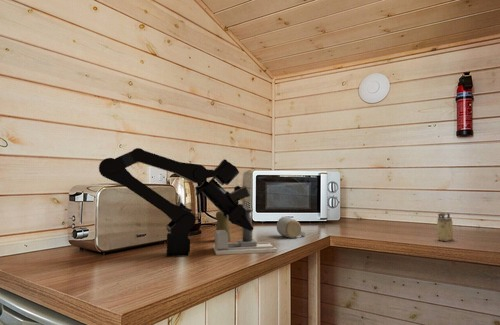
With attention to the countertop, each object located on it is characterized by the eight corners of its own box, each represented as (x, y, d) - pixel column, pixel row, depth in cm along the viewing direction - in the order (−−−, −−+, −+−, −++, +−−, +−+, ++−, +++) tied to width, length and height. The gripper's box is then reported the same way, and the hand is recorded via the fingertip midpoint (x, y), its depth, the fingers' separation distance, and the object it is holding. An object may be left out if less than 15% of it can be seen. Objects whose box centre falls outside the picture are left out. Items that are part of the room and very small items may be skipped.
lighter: (445, 238, 128) (444, 212, 128) (455, 239, 125) (455, 212, 125) (435, 240, 124) (435, 213, 124) (446, 241, 121) (445, 214, 121)
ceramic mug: (285, 239, 126) (286, 219, 126) (276, 235, 133) (276, 216, 134) (309, 238, 130) (310, 218, 130) (298, 234, 137) (299, 215, 138)
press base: (216, 254, 101) (216, 234, 101) (213, 247, 110) (213, 229, 111) (276, 252, 104) (276, 232, 105) (268, 245, 114) (268, 228, 114)
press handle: (241, 247, 104) (241, 209, 105) (238, 244, 110) (238, 208, 110) (256, 247, 105) (256, 209, 106) (253, 243, 111) (252, 207, 111)
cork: (228, 242, 119) (228, 211, 120) (212, 242, 121) (212, 211, 121) (232, 239, 125) (232, 210, 126) (217, 239, 127) (217, 210, 127)
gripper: (240, 177, 99) (276, 214, 100) (231, 177, 117) (261, 208, 119) (213, 204, 97) (250, 241, 98) (208, 200, 115) (240, 231, 117)
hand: (251, 229), depth 108 cm, fingers closed on press handle, 3 cm apart
